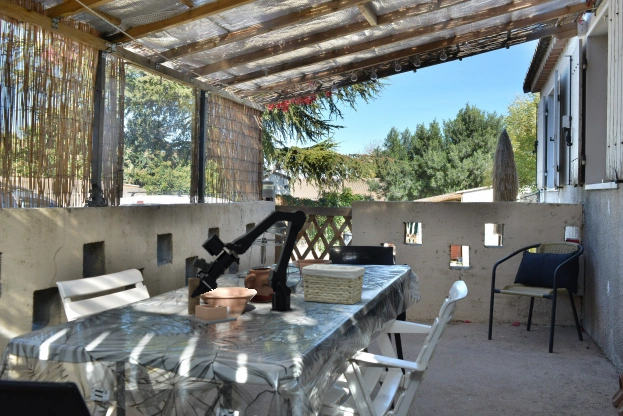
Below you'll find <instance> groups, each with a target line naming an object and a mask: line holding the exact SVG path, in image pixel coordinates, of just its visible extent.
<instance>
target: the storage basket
mask: <svg viewBox="0 0 623 416" xmlns="http://www.w3.org/2000/svg"><path fill="white" fill-rule="evenodd" d="M365 273H366V270H365V267H363V266H362V267H361V266H353V265H352V266H350V265H338V264H336V265H335V264H323V263H322V264H320V263H319V264H318V263H317V264H316V263H314V264H308V265H305V266H303V267H302V268H301V274H302V280H303V296H304V301H306V302H317V303H329V304H333V303H338V304H340V305H351V304H353V305H355V304H357V303H359V302H360V301H361V300H362V294H363V293H362V292H363V285H364V283H363V282H364V274H365ZM356 302H357V303H356ZM354 303H355V304H354Z"/></svg>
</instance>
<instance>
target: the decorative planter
mask: <svg viewBox="0 0 623 416" xmlns="http://www.w3.org/2000/svg"><path fill="white" fill-rule="evenodd" d="M270 269H272V270H274V269H275V268H272V267H254V268H253V267H252V268H249V270H248V273H247V274H246V275H247V276H246V277H245V280H244V286H245V288H248V289H255V290H256V291H257V294H256V295H255V296H254V297H253V298H252V299H251V300H250V299H249V301H250V302H253V303H266V302H267V303H268V302H272V297H273V294H275V293H274V292H273V289H271V288H270V287H269V285H268V279H267V278H268V276H269V272H270Z"/></svg>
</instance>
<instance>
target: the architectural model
mask: <svg viewBox="0 0 623 416" xmlns="http://www.w3.org/2000/svg"><path fill="white" fill-rule="evenodd" d="M247 275H248V274H241V273H240V274H235V275H234V276H236V277H234V278H237V279H238V288H239V287H245V286H244V280H245V277H246V276H247Z"/></svg>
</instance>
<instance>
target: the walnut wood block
mask: <svg viewBox="0 0 623 416" xmlns="http://www.w3.org/2000/svg"><path fill="white" fill-rule="evenodd" d="M187 279H188V284H187V287H188V289H187V290H188V291H187V294H188V295H187V296H188V297H187V314H188V316H192V315H191V314H195V306H197V305H201V295H199V296H197V297H194V298H191V295H192V293H193V292H194V290H195V289H196V288H197V286H198V285H199V278H196V277H188V278H187Z"/></svg>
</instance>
